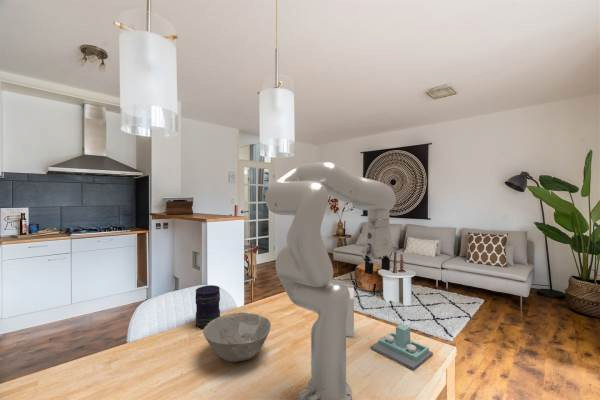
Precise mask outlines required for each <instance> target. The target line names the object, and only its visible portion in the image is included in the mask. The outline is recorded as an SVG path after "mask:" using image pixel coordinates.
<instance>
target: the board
mask: <svg viewBox="0 0 600 400" xmlns="http://www.w3.org/2000/svg"><path fill="white" fill-rule="evenodd" d="M385 336H386V338H385V339H386V340H387V341H388V343H390V344H392V343H393V342H396V339H395V338H394V337H393V336H391V335H388V334H386V335H385ZM406 348H407V350H409V352H410V353H412V354H413V353H415V352H416V351H417V352H419V353H420V352H421V351H422V350H420V349H418V348H416V346H415V345H412V344H407V345H406ZM369 349H370V350H371V351H373V352H375V353H377V354H379V355H381V356H384V357H385V358H388V359H389V360H391V361H393V362H396V363H398V364H400V365H401V366H403V367H406V368H407V369H410V370H411V371H413V372H414V371H416V370H417V368H419V367H420V366H421V365H423V364H424V363H425V362H426V361H427V360H428V359H430V358H431V357H432V356H433V355H434V354H433V353H434V352H433V351H431V350H429V352H428V353H427V354H425V355H424V356H423V357H421V358H420V359H419V360H418V361H414V360H412V359H409V358H407V357H405V356H403V355H401V354H399V353H397V352H395V351H393V350H391V349H388V348H386V347H384V346H382V345H380V344H379V340H378V341H377V342H375V343H373V344H372V345H370V347H369Z"/></svg>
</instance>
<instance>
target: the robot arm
mask: <svg viewBox="0 0 600 400" xmlns="http://www.w3.org/2000/svg"><path fill="white" fill-rule="evenodd" d="M395 194H396V193H395V192H394V190H393V189H392V187H390V186H389V185H387V184H386V183H384V182H381V181H378V180H375V179H370V178H366V177H362V176H358V175H355V174H353V173H352V172H350V171H348V170H346V169H345V168H343V167H342V166H340V165H338V164H336V163H334V162H332V161H317V162H308V163H307V162H306V163H305V162H304V163H302V164H299V165H297V166H295V167H294V168H292V169H291V170H289V171H288V172H286V173H285V174H283V175H282V176H281V177H279V178H278V179H277V180H275V181H273V182H272V183H271V184H270V185H269V186H268V188H267V190H266V192H265V197H264V199H265V205H266V207H267V209H268V210H269V211H270V212H271V213H272V214H275V215H278V216H279V215H280V216H293V219H292V222H291V224H290V226H289V228H288V230H287V234H286V245H287V246H284V247H283V248H281V249H280V250H279V252H278V253H277V255H276V258H275V272H276V275H277V278H278V279H279V281H280V284H281V285H282V286H283V289H284V291H285V293H286V294H287V296H288V298H289V299H290V301H291V302H292V303H293V304H294V305H295V306H297V307H299V308H301V309H302V308H303V309H306V310H307V311H311V312H313V313H316V314H317V315H318V316H317V318H316V320H315V321H314V322H313V323H312V326H311V330H310V379H308V380H307V381H308V383H307V384H306V386H305V389H303V390H301V391H299V392H298V393H297V395H296V396H297V399H298V400H352V399H353V392H352V389H351V386H350V385H349V384H348V383H347V336H346V321H347V313H348V308H349V302H350V293H349V290H348V288H347V287H346V286H345V285H346V284H344V283H343V282H341V281H339V280H337V279H333V277H334V268H333V263H332V260H331V258H330V255H329V253H328V251H327V248H326V246H325V243H324V240H323V238H322V235H321V234H322V233H321V230H322V223H323V220H324V217H325V214H326V211H327V209H328V204H329V197H331V198H334V199H335V200H336V199H337V200H339V201H341V202H343V203H348V204H351V205H352V206H353V207H354V208H355V209H357V210H360V211H367V228H366V234H365V242H364V244H365V245H364V247H363V248H362V249H361V250H360V253H361V256H362V259H363V262H364V273H365V274H367V275H374V259H375V258H381V269H382V270H383V271H387V272H388V271H390V270H391V269H390V267H391V259H392V257H391V256H392V255H393V249H394V246H393V244H392V232H391V228H390V211H391V210H392V209H393V208H394V207H395V204H396V199H397V198H396V195H395Z"/></svg>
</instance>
